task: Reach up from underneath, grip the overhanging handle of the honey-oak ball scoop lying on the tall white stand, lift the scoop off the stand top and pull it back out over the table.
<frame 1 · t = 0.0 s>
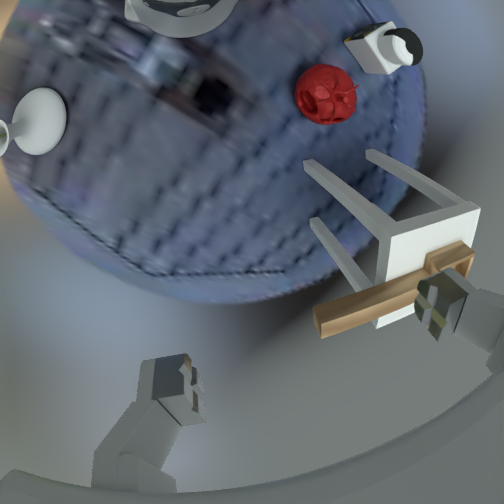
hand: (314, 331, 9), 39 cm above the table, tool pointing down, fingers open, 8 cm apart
medicine bottle: (366, 48, 35), on the table
tall stand: (342, 187, 50), on the table
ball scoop: (394, 285, 28), point 26 cm above the table, touching tall stand
pomegranate: (316, 93, 39), on the table
flower in vase: (40, 117, 32), on the table
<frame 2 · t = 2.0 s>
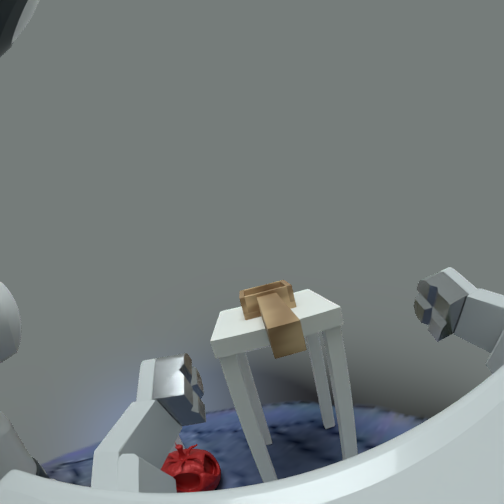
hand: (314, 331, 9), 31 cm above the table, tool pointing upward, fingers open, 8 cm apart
tall stand: (305, 454, 36), on the table
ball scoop: (274, 321, 29), point 26 cm above the table, touching tall stand
pomegranate: (197, 485, 32), on the table
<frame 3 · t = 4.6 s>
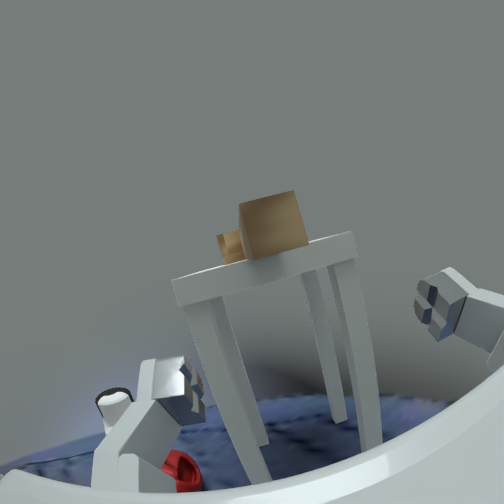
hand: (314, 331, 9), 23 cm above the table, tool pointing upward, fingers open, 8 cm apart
medicine bottle: (141, 453, 34), on the table
tall stand: (311, 456, 27), on the table
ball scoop: (262, 255, 22), point 26 cm above the table, touching tall stand
pomegranate: (173, 496, 23), on the table
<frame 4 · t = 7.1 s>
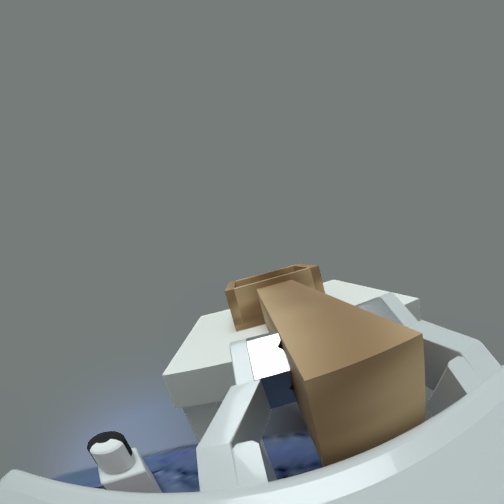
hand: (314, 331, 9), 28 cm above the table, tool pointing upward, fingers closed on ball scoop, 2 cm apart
medicine bottle: (141, 495, 27), on the table
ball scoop: (294, 334, 14), point 26 cm above the table, touching gripper, tall stand
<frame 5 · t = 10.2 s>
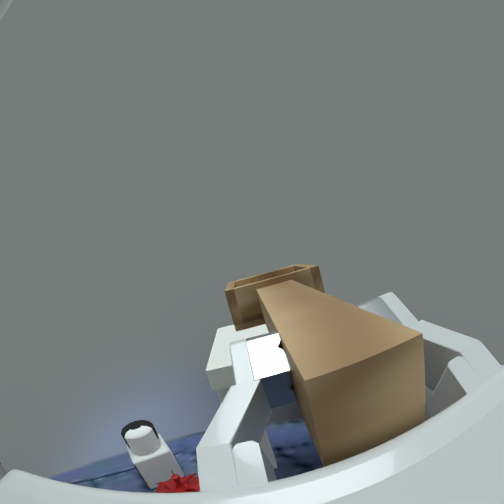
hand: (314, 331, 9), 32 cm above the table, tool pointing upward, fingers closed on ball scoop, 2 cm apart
medicine bottle: (163, 474, 37), on the table
tall stand: (314, 480, 30), on the table
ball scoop: (294, 334, 14), point 30 cm above the table, touching gripper
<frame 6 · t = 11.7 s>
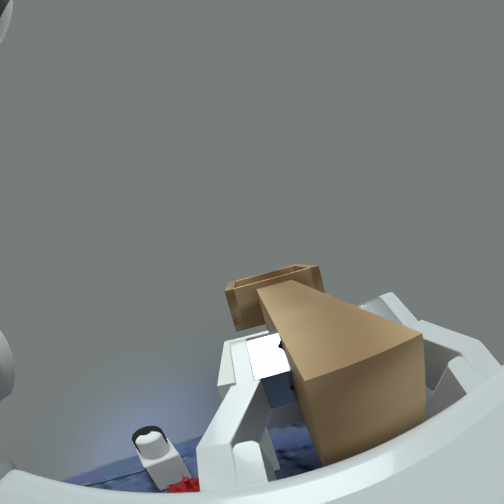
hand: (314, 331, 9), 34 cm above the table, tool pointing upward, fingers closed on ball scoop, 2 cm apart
medicine bottle: (171, 476, 39), on the table
tall stand: (314, 480, 32), on the table
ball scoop: (294, 334, 14), point 33 cm above the table, touching gripper
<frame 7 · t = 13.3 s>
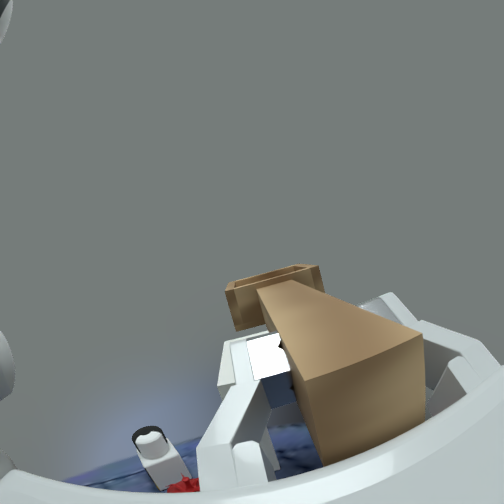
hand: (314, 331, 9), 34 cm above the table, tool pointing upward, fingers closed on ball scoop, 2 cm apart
medicine bottle: (171, 476, 39), on the table
tall stand: (314, 480, 32), on the table
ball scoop: (294, 334, 14), point 33 cm above the table, touching gripper
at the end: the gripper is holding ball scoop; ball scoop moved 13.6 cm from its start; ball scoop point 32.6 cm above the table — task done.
